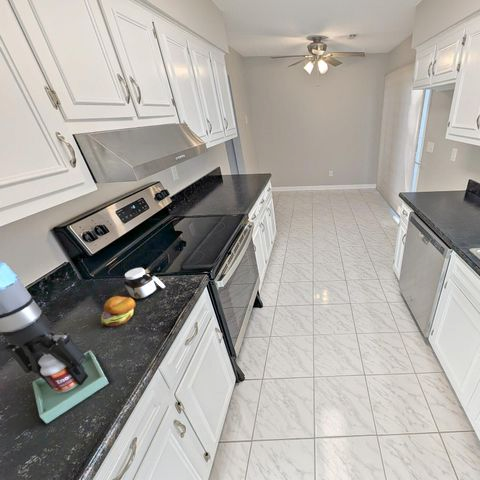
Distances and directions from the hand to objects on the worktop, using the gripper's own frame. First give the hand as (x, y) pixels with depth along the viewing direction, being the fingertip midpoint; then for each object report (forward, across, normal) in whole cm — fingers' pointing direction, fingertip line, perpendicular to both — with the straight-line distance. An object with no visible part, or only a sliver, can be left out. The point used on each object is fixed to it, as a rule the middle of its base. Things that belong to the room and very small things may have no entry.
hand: (70, 382), depth 72 cm
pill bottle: (0, 0, 0) cm, 0 cm away
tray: (+2, 0, 0) cm, 2 cm away
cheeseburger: (+2, +2, -28) cm, 28 cm away
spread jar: (+2, -1, -42) cm, 42 cm away
